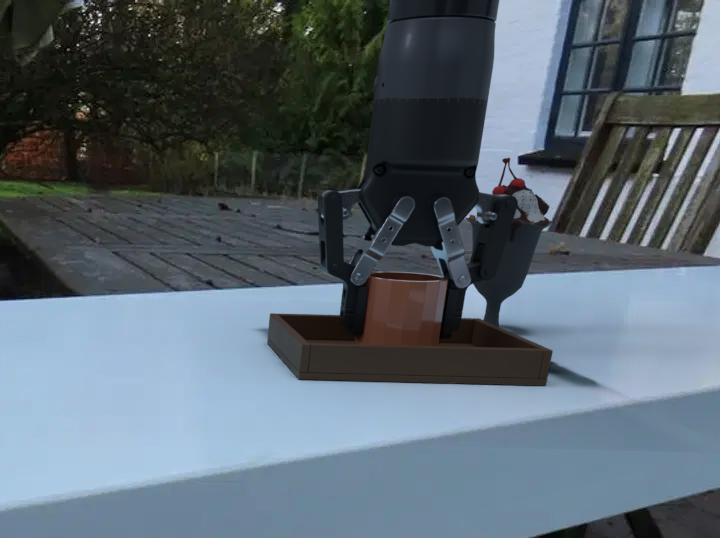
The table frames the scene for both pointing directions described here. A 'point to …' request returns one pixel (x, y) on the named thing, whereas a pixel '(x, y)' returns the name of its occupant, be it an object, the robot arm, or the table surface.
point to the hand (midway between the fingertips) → (397, 334)
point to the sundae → (513, 245)
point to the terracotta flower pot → (403, 309)
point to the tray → (407, 354)
